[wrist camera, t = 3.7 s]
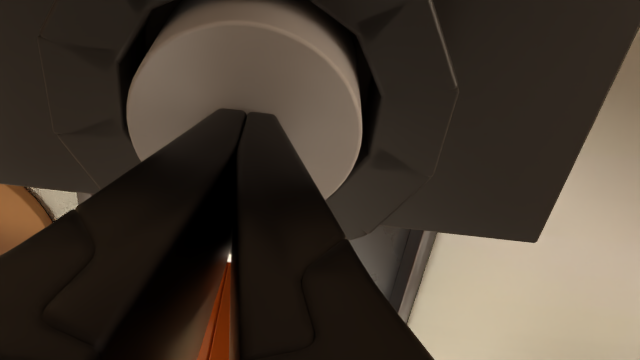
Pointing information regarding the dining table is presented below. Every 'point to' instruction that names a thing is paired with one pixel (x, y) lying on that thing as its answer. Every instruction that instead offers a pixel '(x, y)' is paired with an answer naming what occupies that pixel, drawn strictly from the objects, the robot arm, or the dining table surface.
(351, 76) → the button
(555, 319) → the dining table surface
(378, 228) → the drip tray
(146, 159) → the robot arm
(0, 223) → the cork coaster
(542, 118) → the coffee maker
